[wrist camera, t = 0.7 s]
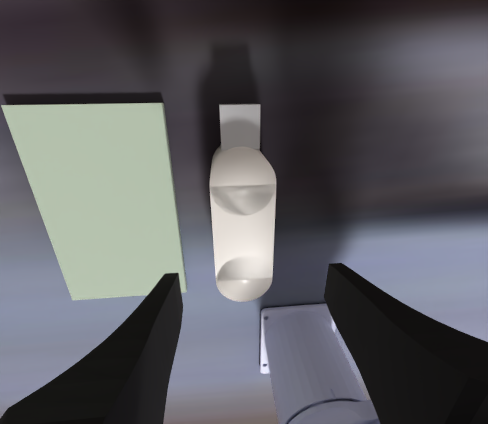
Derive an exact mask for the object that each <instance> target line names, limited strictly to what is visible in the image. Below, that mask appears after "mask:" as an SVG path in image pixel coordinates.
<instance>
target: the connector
mask: <svg viewBox="0 0 488 424" xmlns="http://www.w3.org/2000/svg"><path fill="white" fill-rule="evenodd" d="M219 108H220V130H221V145H220V146H219V147H218V148H217V149H216V151H215V153H214V155H213V158H212V165H211V174H210V200H211V214H212V229H213V243H214V258H215V272H216V284H217V287H218V289H219V291H220V292H221V293H222V294H223V295H224V296H225V297H227V298H228V299H231V300H234V301H240V302H245V301H251V300H254V299H257V298H259V297H260V296H262V295H263V294H264V293H265V292H266V291H267V290H268V289H269V287H270V286H271V283H272V277H273V253H274V229H275V204H276V176H275V172H274V170H273V168H272V166H271V165H270V163H269V162H268V161H267V159H266V158H265V157H264V155H263V154H262V153H261V152H260V150H259V149H260V104H219Z"/></svg>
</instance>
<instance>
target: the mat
mask: <svg viewBox="0 0 488 424" xmlns="http://www.w3.org/2000/svg"><path fill="white" fill-rule="evenodd" d="M1 106H2V109H3V112H4V115H5V117H6V120H7V123H8V126H9V128H10V131H11V134H12V136H13V139H14V142H15V145H16V147H17V150H18V153H19V156H20V158H21V161H22V164H23V166H24V169H25V172H26V175H27V177H28V180H29V183H30V186H31V188H32V191H33V194H34V196H35V199H36V202H37V205H38V207H39V210H40V213H41V216H42V218H43V221H44V224H45V227H46V229H47V232H48V235H49V237H50V240H51V243H52V246H53V248H54V251H55V254H56V257H57V259H58V262H59V265H60V267H61V270H62V273H63V276H64V278H65V281H66V284H67V287H68V289H69V292H70V295H71V297H72V300H83V299H97V298H112V297H126V296H140V295H148V294H149V293H150V292H151V291H152V289H153V288H154V287H155V285H156V284H157V283H158V282H159V280H160V279H161V278H162V276H163V275H164V274H165V273H179V280H180V288H181V293H183V292H187V282H186V274H185V266H184V258H183V251H182V243H181V235H180V227H179V219H178V212H177V204H176V196H175V188H174V180H173V172H172V165H171V157H170V149H169V141H168V133H167V126H166V118H165V110H164V103H122V104H52V105H1Z"/></svg>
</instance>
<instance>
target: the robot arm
mask: <svg viewBox="0 0 488 424" xmlns="http://www.w3.org/2000/svg"><path fill="white" fill-rule="evenodd" d="M324 298H325V301H326V304H314V305H301V306H288V307H275V308H264V309H263V310H262V311H261V337H260V372H261V373H263V374H266V373H270V378H271V384H272V389H273V395H274V400H275V406H276V411H277V417H278V422H279V424H488V342H486V341H483V340H481V339H478V338H475V337H473V336H470V335H468V334H465V333H463V332H461V331H458V330H456V329H454V328H451V327H449V326H447V325H445V324H443V323H440V322H438V321H436V320H434V319H432V318H430V317H428V316H426V315H424V314H422V313H420V312H418V311H416V310H414V309H412V308H411V307H409V306H407V305H405V304H403V303H402V302H400V301H398V300H397V299H395V298H393V297H392V296H390V295H389V294H387V293H385V292H384V291H382V290H381V289H379V288H378V287H376V286H375V285H373V284H372V283H370V282H369V281H367V280H366V279H364V278H363V277H361V276H360V275H359V274H357V273H356V272H354V271H353V270H351V269H350V268H348V267H347V266H345V265H344V264H342V263H333V264H329V268H328V274H327V281H326V287H325V294H324ZM182 312H183V302H182V295H181V288H180V280H179V273H165V274H164V275H163V276H162V278H161V279H160V280H159V282H158V283H157V284H156V285H155V287H154V288H153V289H152V291H151V292H150V293H149V294H148V295H147V297H146V298H145V299H144V300H143V301H142V303H141V304H140V305H139V306H138V307H137V308H136V310H135V311H134V312H133V313H132V314H131V315H130V316H129V317H128V318H127V319H126V320H125V321H124V322H123V323H122V324H121V325H120V326H119V327H118V328H117V329H116V330H115V331H114V332H113V333H112V334H111V335H110V336H109V337H108V338H107V339H106V340H104V341H103V342H102V343H101V344H100V345H98V346H97V347H96V348H95V349H94V350H92V351H91V352H90V353H89V354H87V355H86V356H85V357H84V358H82V359H81V360H80V361H79V362H77V363H76V364H75V365H73V366H72V367H70V368H69V369H68V370H66V371H65V372H64V373H62V374H61V375H59V376H58V377H56V378H55V379H53V380H52V381H51V382H49V383H48V384H46V385H45V386H43V387H41V388H40V389H38V390H37V391H35V392H33V393H32V394H30V395H29V396H27V397H25V398H24V399H22V400H21V401H19V402H18V403H16V404H14V405H13V406H11V407H9V408H8V409H7V410H6V412H5V413H4V414H3V416H2V417H1V419H0V424H163V420H164V412H165V404H166V397H167V389H168V384H169V378H170V374H171V369H172V365H173V360H174V356H175V352H176V347H177V343H178V338H179V334H180V329H181V322H182ZM266 316H267V317H266ZM336 327H337V328H338V330H339V332H340V334H341V336H342V338H343V340H344V342H345V344H346V345H347V347H348V349H349V351H350V353H351V355H352V357H353V359H354V361H355V363H356V365H357V367H358V369H359V371H360V374H361V376H362V378H363V381H364V383H365V386H366V388H367V390H368V393H369V395H370V398H371V400H367V399H366V396H365V394H364V392H363V390H362V388H361V386H360V384H359V382H358V380H357V378H356V376H355V374H354V372H353V370H352V368H351V366H350V364H349V362H348V360H347V358H346V356H345V354H344V351H343V349H342V347H341V345H340V343H339V341H338V339H337V337H336V335H335V329H336ZM371 401H372V402H371ZM372 403H373V404H372Z"/></svg>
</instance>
